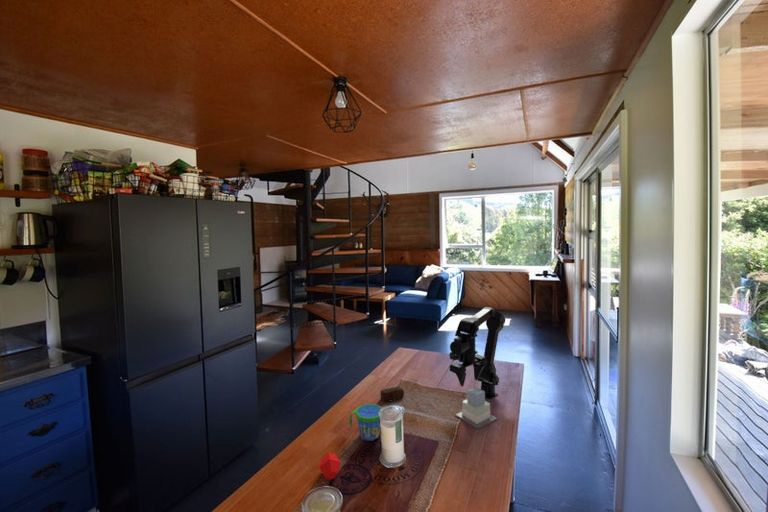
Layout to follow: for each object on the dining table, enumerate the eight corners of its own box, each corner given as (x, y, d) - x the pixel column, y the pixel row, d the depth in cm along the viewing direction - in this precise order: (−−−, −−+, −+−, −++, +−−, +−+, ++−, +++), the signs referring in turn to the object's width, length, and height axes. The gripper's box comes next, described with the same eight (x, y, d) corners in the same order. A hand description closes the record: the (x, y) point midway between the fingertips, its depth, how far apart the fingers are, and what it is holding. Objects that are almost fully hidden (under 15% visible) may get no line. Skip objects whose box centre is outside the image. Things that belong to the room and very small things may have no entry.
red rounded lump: (340, 467, 102) (336, 444, 109) (319, 475, 101) (316, 450, 108) (344, 479, 105) (340, 456, 112) (323, 487, 104) (320, 463, 111)
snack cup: (393, 431, 129) (392, 406, 128) (385, 448, 119) (384, 421, 118) (356, 425, 134) (355, 401, 133) (345, 440, 124) (344, 414, 123)
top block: (475, 398, 140) (475, 386, 140) (484, 403, 136) (484, 391, 136) (467, 401, 138) (467, 390, 137) (476, 406, 134) (476, 394, 133)
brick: (383, 403, 151) (383, 393, 151) (380, 399, 155) (380, 389, 154) (404, 398, 155) (404, 388, 155) (400, 394, 159) (400, 385, 159)
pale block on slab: (474, 407, 146) (474, 392, 145) (497, 419, 136) (497, 404, 135) (455, 415, 139) (455, 400, 139) (477, 429, 129) (477, 413, 129)
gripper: (468, 339, 154) (468, 371, 156) (439, 348, 144) (440, 382, 145) (488, 345, 145) (488, 379, 147) (459, 355, 135) (460, 392, 136)
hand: (469, 382), depth 144 cm, fingers open, 9 cm apart
